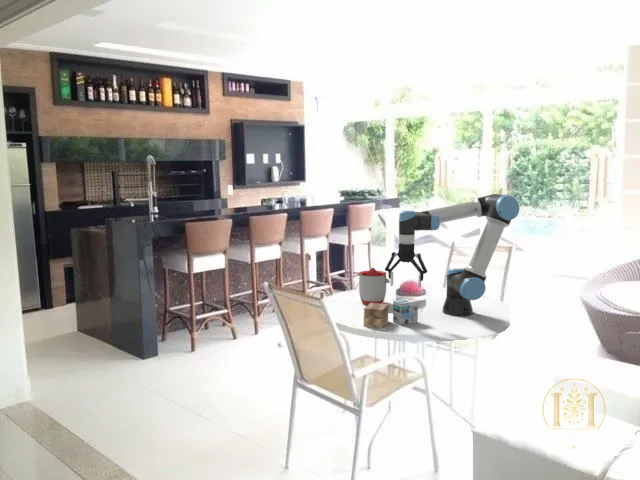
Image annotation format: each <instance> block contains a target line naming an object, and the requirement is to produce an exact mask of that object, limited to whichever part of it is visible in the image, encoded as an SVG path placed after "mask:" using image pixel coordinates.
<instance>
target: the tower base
mask: <svg viewBox="0 0 640 480" xmlns="http://www.w3.org/2000/svg"><path fill="white" fill-rule="evenodd" d="M388 322H389V313H388V314H387V315H386V316H385V317H384V318H383V319H375V318H364V317H363V327H369V328H370V327H371V328H380V329H383V328H384V326H386V324H387V323H388Z"/></svg>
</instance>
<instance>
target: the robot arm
mask: <svg viewBox="0 0 640 480" xmlns="http://www.w3.org/2000/svg"><path fill="white" fill-rule="evenodd" d="M519 213H520V203H519V201H518V200H517V198H516V197H514V196H512V195H508V194H499V193H492V194H489V195H485V196H480V197H478V198H477V197H476V198H474V199H473V200H472V201H468V202H467V201H466V202H461V203H458V204H453V205H448V206H447V205H446V206H443V207H437V208H432V209H427V210H424V211H414V210H401V211H400V212H399V218H398V252H395V251H393V252H392V253H391V257H390V259H389V261H388V262H387V264H386V266H385V268H384V272H388V279H389V280H390V283H389V284H390V287H392V286H393V285H394V271H393V270H394V269H395V268H396V267H397V266H398V265H399V264H400V263H401V262H402V263H411V264H412V266H414V267H415V269H416V271H418V273H419V274H418V289H420V288H421V287H422V282H423V281H424V275H425V274H426V273H428V269H427V267H426V265H425V263H424V261H423V259H422V254H421V253H420V252H419V253H415V239H416V238H415V237H416V236H415V235H416V233H415V232H416V231H431V232H432V231H437V230H438V229H439V228H440V226H441V223H447V222H452V221H457V220H461V219H466V218H470V217H475V216H476V217H477V218H481V217H485V218H486V219H485V220H486V224H485V226H484V229H483V232H482V233H481V236H480V238H479V240H478V242H477V246H476V248H475V249H474V252H473V255H472V257H471V259H470V261H469V264H468V266H466V267H463V268H461V267H460V268H449V269H447V271H446V298H445V301H444V303H443V306H442V313H443V314H444V315H445V314H446V315H450V316H457V317H458V316H459V317H462V316H470V315H473V313H474V312H473V309H474V308H473V306H472V302H471V301H476V300H479V299H481V298H482V297H483V296H484V294H485V291H486V289H487V288H486V283H485V282H486V280H487V274H486V271H487V270H488V267H489V264H490V262H491V260H492V257H493V256H494V253H495V251H496V249H497V246H498V244H499V241H500V239H501V237H502V234H503V232H504V230H505V228H508V227H509V226H510V224H511V221H512V220H514V219H516V217H517V216H519ZM396 257H398V260H397V261H396V262H395V263H394V264H393V265H392V263H393V261H394V259H395V258H396ZM415 257H416V259H418V262H419V264H420V265H419V264H418V263H417V261H416V260H415V259H414V258H415ZM391 265H392V266H391Z"/></svg>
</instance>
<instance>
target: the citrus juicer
mask: <svg viewBox="0 0 640 480" xmlns="http://www.w3.org/2000/svg"><path fill="white" fill-rule="evenodd" d="M390 283H391V280H390V279H389V278H387V271H382V270H376V268H374V267H370V269H369V270H362V271H359V272H358V292H359V298H360V302H361V303H362V304H364V305H366V306H367V305H369V304H370V303H380V304H384V301H385V299H386V295H387V284H390Z"/></svg>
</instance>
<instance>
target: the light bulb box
mask: <svg viewBox="0 0 640 480" xmlns="http://www.w3.org/2000/svg"><path fill="white" fill-rule="evenodd" d="M392 302H393V305H392V307H393V308H392V309H393V310H392V321H393V323H395V324H398V325H400V326H404V325H409V324H416V322H417V323H418V321H419V320H418V319H419V317H418V316H419V301H418V300H416V299H413V298H404V299H396V300H393V301H392Z"/></svg>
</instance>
